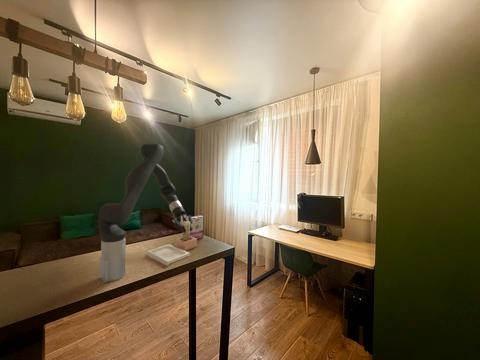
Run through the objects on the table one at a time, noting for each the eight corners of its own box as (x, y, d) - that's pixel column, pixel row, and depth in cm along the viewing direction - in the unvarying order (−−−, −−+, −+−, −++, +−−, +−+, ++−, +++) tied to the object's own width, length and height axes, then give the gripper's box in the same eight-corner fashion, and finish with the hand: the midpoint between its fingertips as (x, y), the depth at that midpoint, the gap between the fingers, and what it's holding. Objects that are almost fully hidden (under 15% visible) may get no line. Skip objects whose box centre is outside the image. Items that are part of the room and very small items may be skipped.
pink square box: (184, 252, 117) (185, 242, 117) (175, 248, 122) (175, 238, 122) (196, 247, 124) (197, 238, 124) (187, 244, 130) (187, 235, 130)
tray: (167, 266, 99) (167, 261, 99) (147, 255, 111) (147, 250, 111) (189, 257, 111) (189, 252, 110) (168, 248, 122) (169, 244, 122)
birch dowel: (185, 242, 120) (186, 223, 120) (180, 240, 122) (181, 221, 122) (191, 240, 123) (191, 222, 123) (186, 239, 126) (187, 220, 126)
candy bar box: (199, 237, 145) (200, 215, 144) (203, 238, 141) (204, 216, 141) (186, 240, 137) (186, 217, 137) (189, 242, 134) (190, 218, 133)
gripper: (170, 207, 121) (181, 230, 114) (188, 204, 132) (200, 225, 126) (164, 214, 124) (175, 237, 117) (183, 211, 136) (194, 232, 129)
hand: (188, 231), depth 122 cm, fingers closed on birch dowel, 4 cm apart
